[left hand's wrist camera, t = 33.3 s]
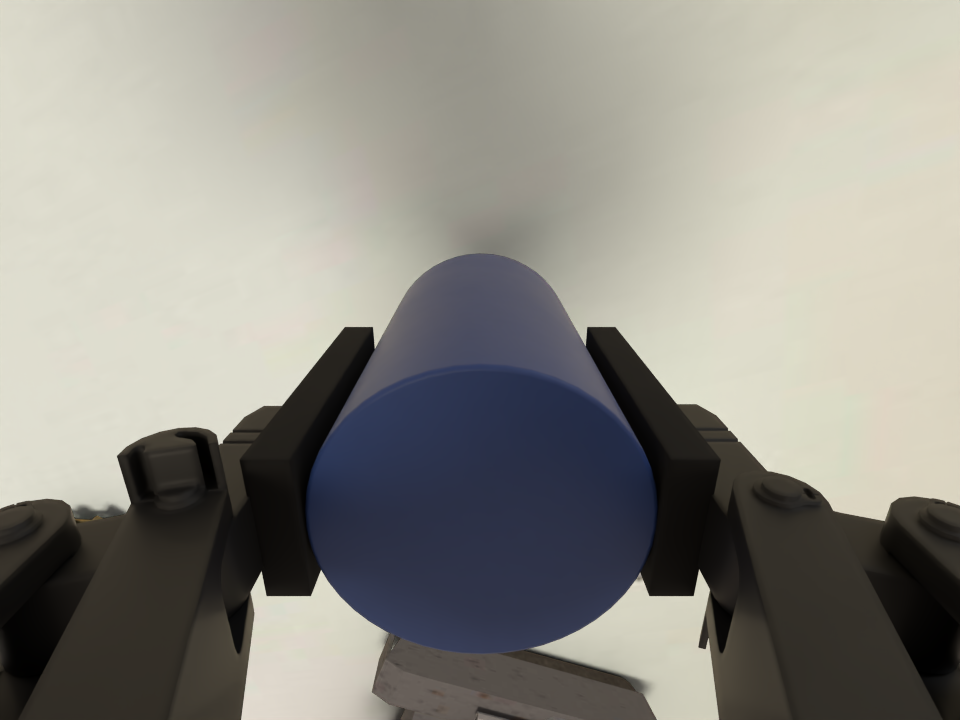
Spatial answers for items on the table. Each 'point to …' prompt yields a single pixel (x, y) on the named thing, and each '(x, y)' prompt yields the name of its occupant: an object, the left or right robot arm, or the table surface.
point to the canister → (481, 471)
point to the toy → (500, 687)
